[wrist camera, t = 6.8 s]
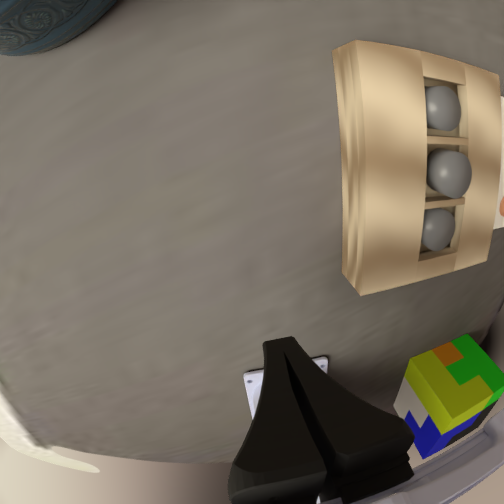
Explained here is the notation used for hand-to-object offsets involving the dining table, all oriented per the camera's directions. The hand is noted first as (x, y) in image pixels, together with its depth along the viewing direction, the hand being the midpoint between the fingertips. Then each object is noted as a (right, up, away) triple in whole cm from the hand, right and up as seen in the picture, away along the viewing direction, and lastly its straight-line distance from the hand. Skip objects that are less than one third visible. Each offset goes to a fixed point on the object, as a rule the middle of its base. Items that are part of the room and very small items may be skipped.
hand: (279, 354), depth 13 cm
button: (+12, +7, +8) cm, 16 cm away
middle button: (+12, +10, +5) cm, 17 cm away
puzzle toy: (+23, -11, +20) cm, 32 cm away
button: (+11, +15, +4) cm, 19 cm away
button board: (+12, +12, +7) cm, 18 cm away
